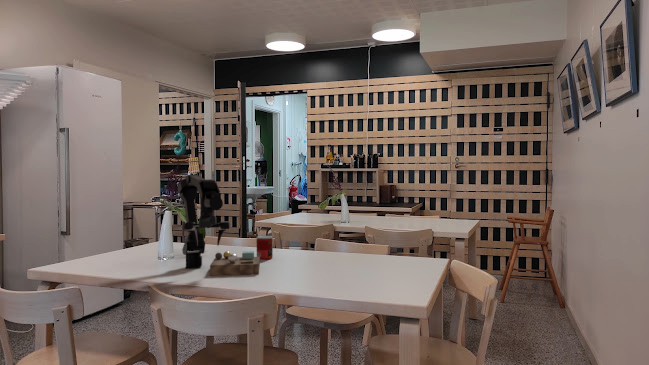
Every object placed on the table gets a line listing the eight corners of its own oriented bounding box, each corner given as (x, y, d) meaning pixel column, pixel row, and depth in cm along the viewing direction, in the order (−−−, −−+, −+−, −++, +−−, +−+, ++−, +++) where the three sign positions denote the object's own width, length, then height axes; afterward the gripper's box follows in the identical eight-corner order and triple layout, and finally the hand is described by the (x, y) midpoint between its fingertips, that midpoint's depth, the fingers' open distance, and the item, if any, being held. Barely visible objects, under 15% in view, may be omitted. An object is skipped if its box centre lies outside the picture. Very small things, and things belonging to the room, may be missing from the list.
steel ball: (227, 264, 196) (227, 254, 196) (228, 262, 200) (228, 253, 200) (237, 263, 196) (237, 254, 196) (237, 262, 200) (237, 252, 200)
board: (210, 275, 193) (210, 265, 193) (215, 267, 211) (215, 257, 211) (258, 274, 195) (258, 264, 195) (259, 266, 213) (259, 256, 213)
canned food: (271, 260, 229) (271, 237, 229) (255, 260, 230) (255, 237, 229) (273, 257, 237) (273, 235, 237) (257, 257, 237) (257, 235, 237)
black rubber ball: (214, 260, 205) (214, 253, 205) (215, 258, 208) (215, 252, 208) (221, 259, 206) (221, 253, 206) (222, 258, 209) (222, 251, 209)
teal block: (242, 258, 206) (242, 253, 206) (242, 256, 211) (242, 251, 211) (253, 258, 207) (253, 252, 207) (254, 256, 212) (254, 251, 212)
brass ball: (223, 259, 207) (222, 252, 207) (223, 258, 210) (223, 250, 210) (230, 259, 208) (230, 251, 208) (230, 257, 211) (230, 250, 211)
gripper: (180, 210, 187) (181, 249, 188) (227, 210, 189) (228, 248, 190) (185, 208, 198) (186, 245, 199) (230, 208, 201) (230, 244, 201)
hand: (207, 245), depth 197 cm, fingers open, 8 cm apart
